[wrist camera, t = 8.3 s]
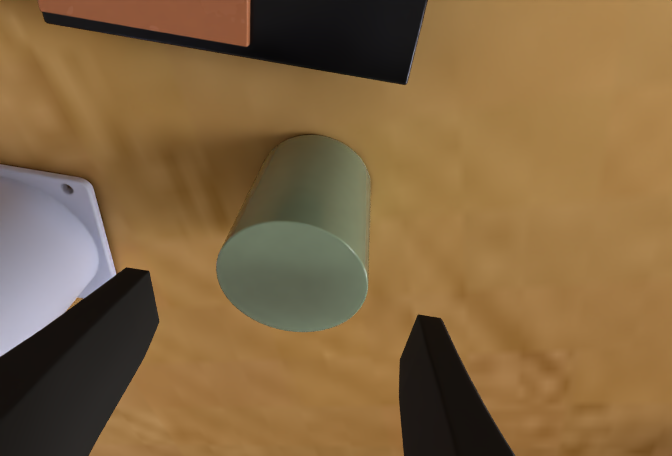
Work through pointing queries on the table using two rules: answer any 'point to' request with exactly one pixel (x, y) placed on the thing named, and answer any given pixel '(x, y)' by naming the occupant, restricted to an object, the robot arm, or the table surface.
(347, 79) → the table surface
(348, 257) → the sage green cylinder
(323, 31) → the warmer
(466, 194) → the table surface
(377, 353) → the table surface
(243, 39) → the tile
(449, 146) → the table surface
